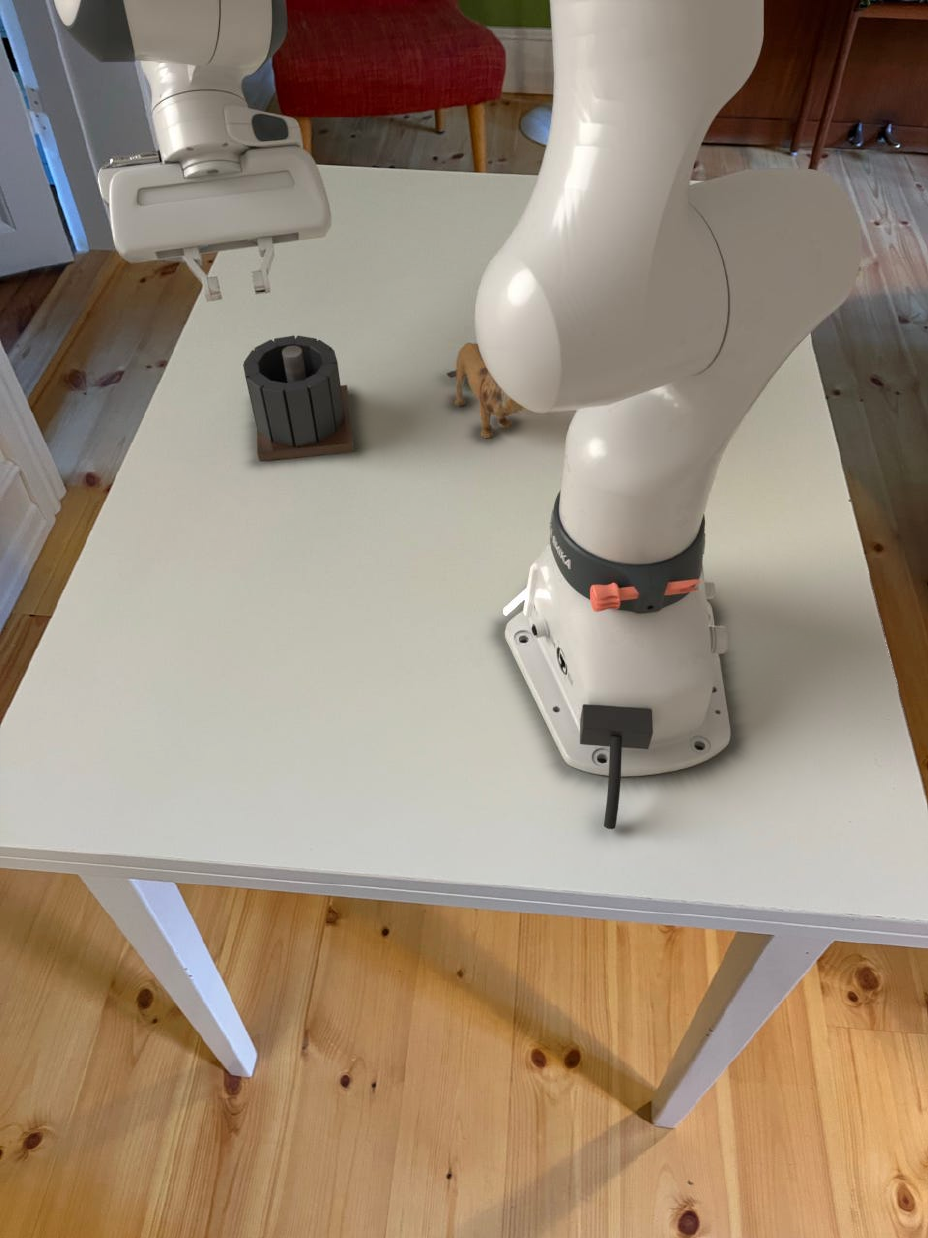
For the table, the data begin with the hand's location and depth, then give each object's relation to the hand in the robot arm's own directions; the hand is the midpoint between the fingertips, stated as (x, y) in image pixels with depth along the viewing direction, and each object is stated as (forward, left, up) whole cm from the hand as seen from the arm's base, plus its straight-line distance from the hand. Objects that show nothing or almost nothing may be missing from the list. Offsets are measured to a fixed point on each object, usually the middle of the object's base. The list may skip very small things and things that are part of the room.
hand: (238, 295), depth 88 cm
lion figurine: (-1, -24, -16) cm, 29 cm away
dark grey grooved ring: (0, -4, -15) cm, 15 cm away
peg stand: (0, -4, -16) cm, 17 cm away
